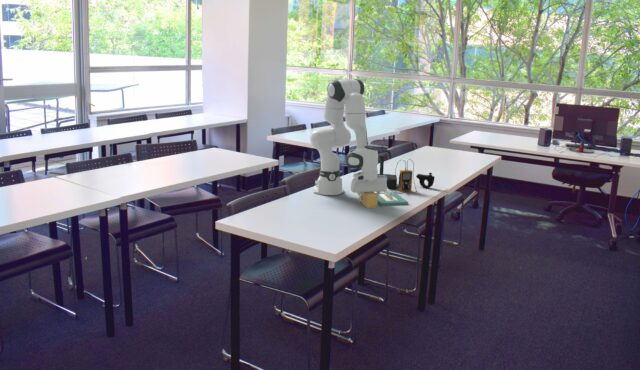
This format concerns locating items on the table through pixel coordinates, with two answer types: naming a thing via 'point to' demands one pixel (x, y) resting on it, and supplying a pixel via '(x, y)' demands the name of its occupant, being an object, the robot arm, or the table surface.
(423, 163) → the table surface
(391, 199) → the board
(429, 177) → the controller
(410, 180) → the multimeter
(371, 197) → the block
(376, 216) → the table surface
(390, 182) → the black block with post
